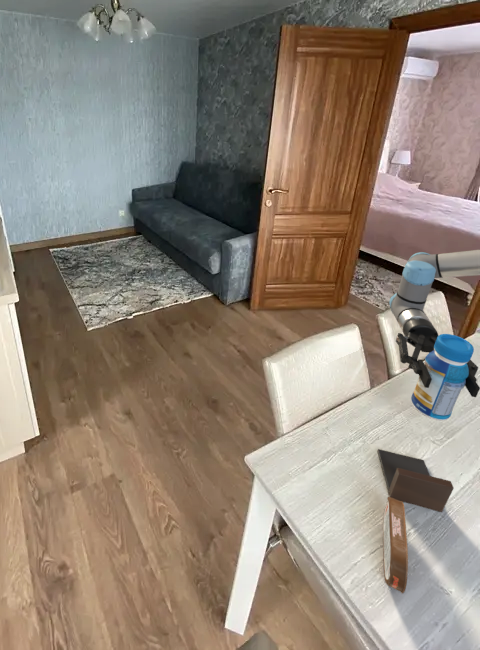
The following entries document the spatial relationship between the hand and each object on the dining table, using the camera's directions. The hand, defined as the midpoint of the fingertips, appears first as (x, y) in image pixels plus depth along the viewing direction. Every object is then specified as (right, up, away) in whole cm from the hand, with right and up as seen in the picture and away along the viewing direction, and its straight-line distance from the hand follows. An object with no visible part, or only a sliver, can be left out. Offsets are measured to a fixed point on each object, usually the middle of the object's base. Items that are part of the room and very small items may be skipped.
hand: (451, 387), depth 77 cm
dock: (-8, -22, +4) cm, 24 cm away
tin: (-20, -28, -10) cm, 36 cm away
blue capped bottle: (+1, -9, +8) cm, 12 cm away
